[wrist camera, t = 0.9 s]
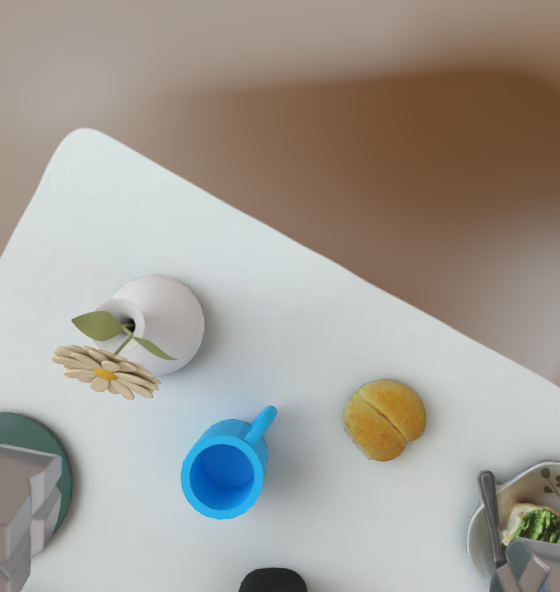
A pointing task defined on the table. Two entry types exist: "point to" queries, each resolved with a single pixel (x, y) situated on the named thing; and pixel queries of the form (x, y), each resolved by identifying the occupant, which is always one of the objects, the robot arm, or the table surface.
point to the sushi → (273, 581)
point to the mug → (227, 467)
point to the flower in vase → (136, 337)
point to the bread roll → (384, 418)
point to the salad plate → (513, 514)
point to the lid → (38, 438)
